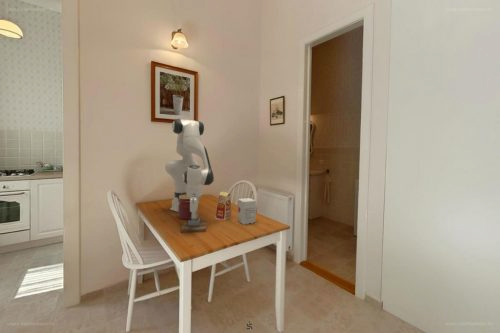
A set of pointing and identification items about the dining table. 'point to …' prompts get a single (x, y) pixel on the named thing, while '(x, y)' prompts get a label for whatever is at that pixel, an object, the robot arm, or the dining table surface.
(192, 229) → the post base
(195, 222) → the collar
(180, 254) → the dining table surface
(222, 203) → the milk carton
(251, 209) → the supplement box
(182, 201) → the canister
